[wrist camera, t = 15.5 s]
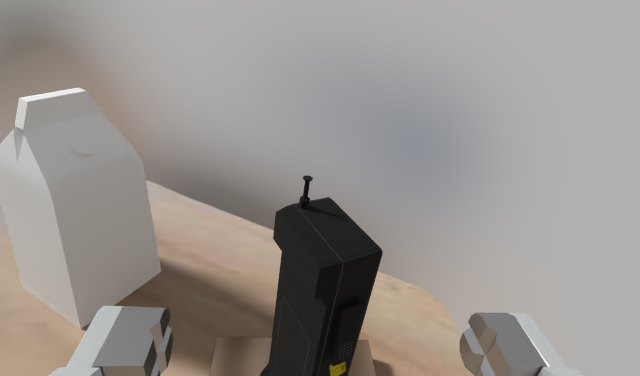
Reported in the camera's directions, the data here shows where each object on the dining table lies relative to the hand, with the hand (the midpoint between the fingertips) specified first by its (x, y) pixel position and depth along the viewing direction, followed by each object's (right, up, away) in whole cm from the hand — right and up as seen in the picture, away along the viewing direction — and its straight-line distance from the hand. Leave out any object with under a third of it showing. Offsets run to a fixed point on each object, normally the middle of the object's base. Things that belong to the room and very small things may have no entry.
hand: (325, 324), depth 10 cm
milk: (-31, -9, +41) cm, 52 cm away
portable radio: (-2, -19, +27) cm, 33 cm away
